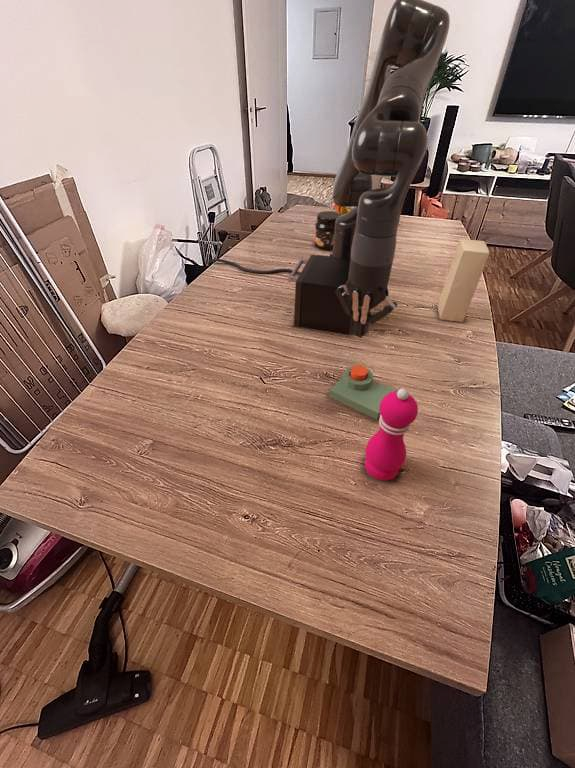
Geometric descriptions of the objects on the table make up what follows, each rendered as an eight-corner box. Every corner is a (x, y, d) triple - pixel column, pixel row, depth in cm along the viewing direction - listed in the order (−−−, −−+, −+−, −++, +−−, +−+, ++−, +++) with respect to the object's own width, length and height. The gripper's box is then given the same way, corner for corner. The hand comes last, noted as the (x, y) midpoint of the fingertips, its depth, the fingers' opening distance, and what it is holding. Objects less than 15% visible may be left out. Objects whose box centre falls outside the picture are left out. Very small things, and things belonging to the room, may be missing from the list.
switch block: (329, 397, 85) (330, 384, 83) (349, 374, 91) (351, 361, 89) (376, 420, 80) (380, 407, 78) (395, 394, 86) (399, 382, 84)
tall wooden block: (465, 323, 109) (493, 252, 95) (439, 320, 110) (462, 250, 96) (462, 309, 115) (487, 240, 101) (437, 306, 116) (458, 238, 102)
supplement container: (309, 243, 152) (311, 212, 144) (332, 239, 156) (335, 209, 148) (321, 253, 145) (323, 221, 137) (345, 248, 148) (348, 217, 140)
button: (347, 377, 85) (348, 371, 84) (355, 369, 87) (355, 363, 86) (361, 383, 84) (362, 377, 82) (368, 375, 86) (370, 369, 85)
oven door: (284, 324, 107) (285, 279, 98) (300, 294, 120) (302, 253, 111) (299, 326, 107) (301, 282, 97) (313, 296, 119) (316, 255, 110)
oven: (300, 327, 107) (301, 281, 97) (314, 297, 120) (316, 254, 110) (348, 335, 104) (355, 289, 94) (358, 303, 117) (364, 260, 107)
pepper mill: (358, 452, 74) (375, 376, 60) (394, 450, 74) (418, 373, 61) (367, 484, 68) (387, 408, 55) (405, 481, 69) (435, 405, 56)
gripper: (415, 258, 66) (396, 338, 78) (350, 239, 72) (341, 316, 84) (396, 274, 62) (379, 356, 74) (329, 253, 68) (323, 332, 79)
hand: (359, 334), depth 79 cm, fingers closed
